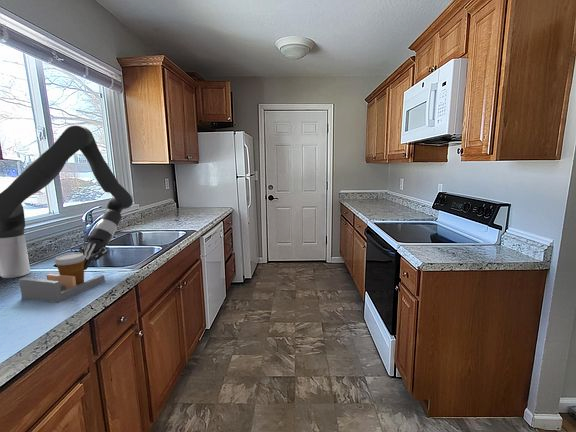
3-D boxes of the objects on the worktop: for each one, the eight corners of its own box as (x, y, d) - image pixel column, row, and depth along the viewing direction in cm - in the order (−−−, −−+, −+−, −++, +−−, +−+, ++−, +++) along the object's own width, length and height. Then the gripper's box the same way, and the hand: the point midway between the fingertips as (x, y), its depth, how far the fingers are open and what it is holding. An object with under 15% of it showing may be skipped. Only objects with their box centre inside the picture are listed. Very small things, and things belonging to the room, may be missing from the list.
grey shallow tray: (21, 298, 105) (18, 279, 104) (73, 278, 124) (70, 261, 123) (57, 302, 102) (54, 283, 100) (105, 281, 120) (103, 264, 119)
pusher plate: (43, 291, 110) (40, 276, 109) (51, 287, 113) (49, 273, 112) (68, 294, 107) (66, 279, 107) (77, 290, 111) (75, 276, 110)
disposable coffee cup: (59, 293, 109) (54, 262, 107) (58, 285, 116) (53, 255, 114) (90, 286, 115) (86, 256, 113) (87, 278, 122) (83, 250, 120)
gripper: (84, 227, 127) (61, 264, 117) (110, 228, 124) (89, 266, 114) (96, 236, 133) (75, 272, 123) (121, 237, 130) (102, 274, 120)
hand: (82, 269), depth 119 cm, fingers closed
